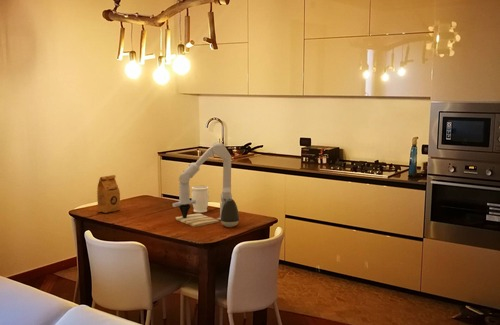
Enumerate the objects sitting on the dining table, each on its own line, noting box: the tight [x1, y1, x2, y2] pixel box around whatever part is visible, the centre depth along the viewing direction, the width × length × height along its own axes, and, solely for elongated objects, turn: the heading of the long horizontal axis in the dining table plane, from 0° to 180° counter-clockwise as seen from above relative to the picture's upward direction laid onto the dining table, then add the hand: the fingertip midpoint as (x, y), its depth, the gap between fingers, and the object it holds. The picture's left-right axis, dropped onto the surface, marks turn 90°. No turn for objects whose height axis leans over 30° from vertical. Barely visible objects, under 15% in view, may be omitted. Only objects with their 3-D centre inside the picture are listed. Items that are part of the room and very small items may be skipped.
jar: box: [190, 185, 210, 214], centre depth 316 cm, size 11×10×15 cm
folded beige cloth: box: [185, 216, 220, 228], centre depth 290 cm, size 9×16×1 cm, turn 130°
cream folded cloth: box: [175, 212, 209, 224], centre depth 298 cm, size 9×16×1 cm, turn 130°
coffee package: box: [96, 174, 122, 214], centre depth 314 cm, size 10×12×22 cm
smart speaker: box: [220, 198, 240, 228], centre depth 283 cm, size 10×10×15 cm
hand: (184, 217), depth 296 cm, fingers closed, pressing on cream folded cloth
